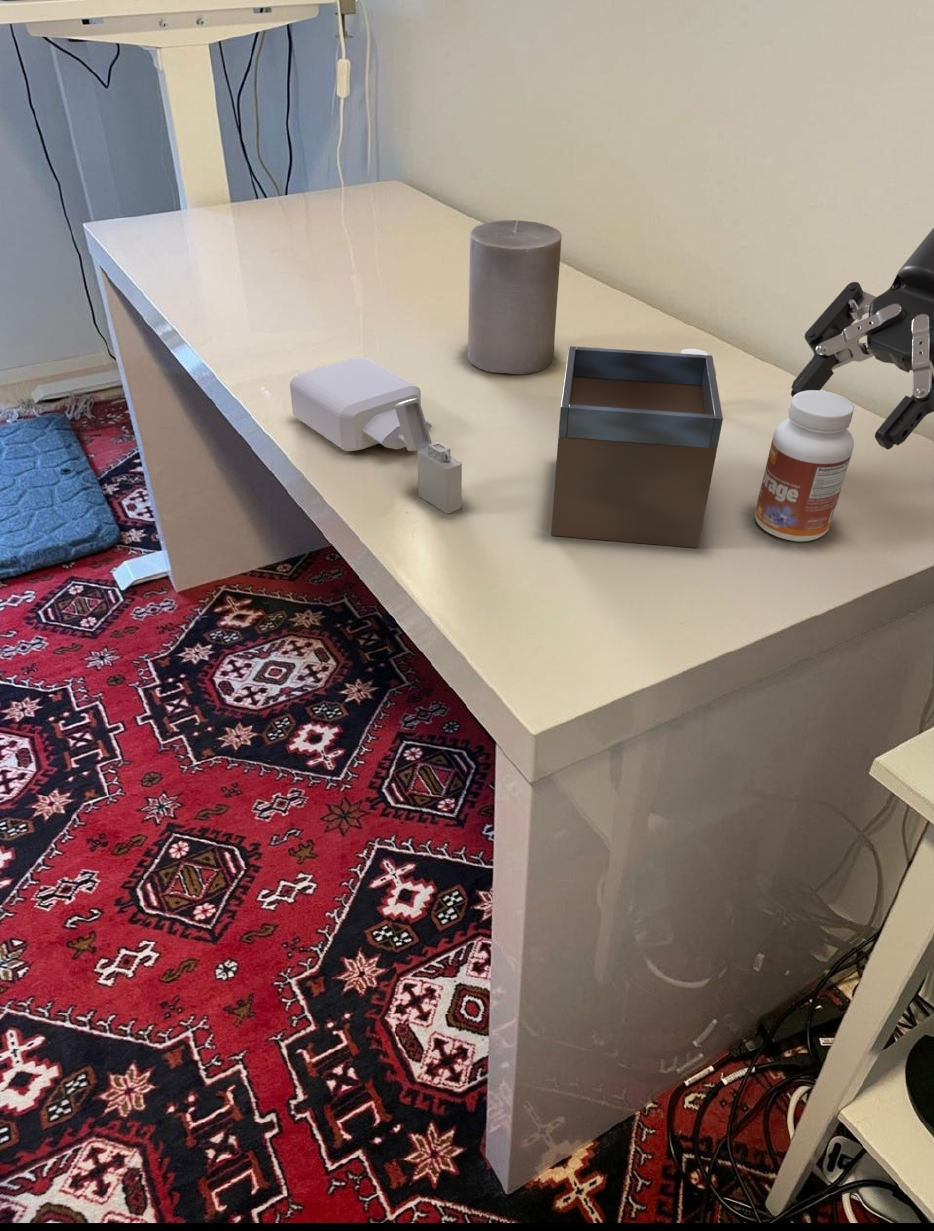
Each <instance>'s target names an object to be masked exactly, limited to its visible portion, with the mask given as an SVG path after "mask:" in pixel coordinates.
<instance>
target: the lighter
mask: <svg viewBox="0 0 934 1231" xmlns="http://www.w3.org/2000/svg"><path fill="white" fill-rule="evenodd" d="M395 410H396V413H397V417H398V420H399V423H400V427H401V430H402V434H403V437H404V440H405V444H406V447H405V448H406V450H407V451H408V452H417V486H418V487H417V490H418V491H417V493H418V495H417V496H418V497H420V498H421V499H423V500H424V501H426V502H428V503H429V504H430V505H432V506H434V507H435V508H437V509H438V510H439V511H441V512H443V514H447V515H448V514H449V515H450V514H451V513H454V512H456V511H458V510H460V509H462V498H463V497H462V492H463V490H462V488H463V487H462V486H463V485H462V484H463V482H462V481H463V462H462V461H460V460H458V459H457V458H455V457H453V456H452V455H451V448H450V447H449V446H447V445H445V444H443V443H442V442H440V441H439V440H436V441H432V440H431V437H430V431H429V432H428V428H427V425H426V422H425V421H426V419H425V415H424V411H423V409H422V405H421V404H420V401H419V399H417V398H416V399H411V400H407V401H404V402H401V403H398V404H396V405H395Z"/></svg>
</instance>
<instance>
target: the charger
mask: <svg viewBox="0 0 934 1231" xmlns="http://www.w3.org/2000/svg"><path fill="white" fill-rule="evenodd" d="M289 389H290V390H289V391H290V399H291V409H292V415H293V417H295V418H296V419H298V420H299V421H300V422H302V423H303V424H305V425H306V426H308V427H309V428H310V429H312V430H314V431H315V432H317V433H318V434H319V435H321V436H322V437H324V438H325V439H327V440H328V441H330V442H331V443H333V444H334V445H335V446H337V447H339V449H342V451H345V452H355V451H360V450H364V449H367V448H370V447H373V446H376V445H378V444H381V446H384V447H385V448H388V449H394V450H400V449H403V448H407V447H406V444H405V440H404V437H403V434H402V430H401V427H400V423H399V420H398V417H397V413H396V410H395V405H396V404H398V403H401V402H404V401H407V400H411V399H416V398H417V399H419V401H420V404H421V403H422V401H421V400H422V398H421V396H422V395H421V389H420V387H418V385H415V384H413V383H411V382H409V381H408V380H406V379H404V378H403V377H401V376H399V375H397V374H396V373H394V372H392V371H390V370H388V369H386V368H385V367H383V366H382V365H380V364H378V363H376V362H375V361H372V360H371V359H369V358H367V357H365V356H357V357H352V358H349V359H345V360H342V361H339V362H335V363H331V364H328V365H324V366H321V367H317V368H314V369H310V370H307V371H303V372H301V373H298V374H297V375H296V376H293V378H292V379H291V381H290V382H289ZM425 422H426V425H427V428H428V432H429V433H430V431H431V429H432V427H433V425H432V424H431V423H430V422H429V421H427V420H425Z"/></svg>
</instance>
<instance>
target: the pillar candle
mask: <svg viewBox="0 0 934 1231" xmlns="http://www.w3.org/2000/svg"><path fill="white" fill-rule="evenodd" d="M562 237H563V235H562V233H561V231H560V230H558V229H557V228H555V227H553V226H551V225H548V224H545V223H541V222H538V221H529V220H520V219H517V220H516V219H507V220H494V221H493V220H491V221H489V222H484V223H481V224H478V225H476V226H474V227H473V228H472V229H471V230H470V232H469V262H468V263H469V264H468V266H469V267H468V268H469V269H468V273H469V274H468V316H467V317H468V321H467V324H468V325H467V326H468V328H467V359H468V361H469V363H470V364H471V365H473V366H475V368H477V369H479V370H483V371H485V372H487V373H493V374H496V373H497V374H510V375H529V374H534V373H537V372H540V371H543V370H544V369H546V368H548V367H549V366H550V364H551V363H552V362H553V360H554V358H555V341H556V340H555V339H556V324H557V309H558V294H559V281H560V279H559V278H560V267H561V266H560V265H561V251H562V250H561V249H562Z"/></svg>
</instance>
